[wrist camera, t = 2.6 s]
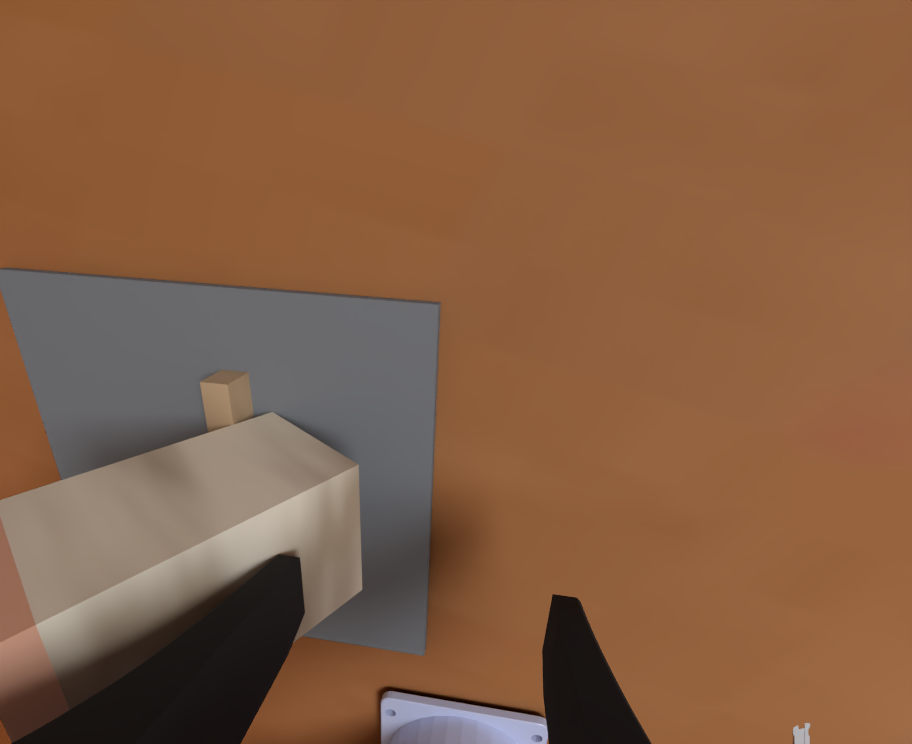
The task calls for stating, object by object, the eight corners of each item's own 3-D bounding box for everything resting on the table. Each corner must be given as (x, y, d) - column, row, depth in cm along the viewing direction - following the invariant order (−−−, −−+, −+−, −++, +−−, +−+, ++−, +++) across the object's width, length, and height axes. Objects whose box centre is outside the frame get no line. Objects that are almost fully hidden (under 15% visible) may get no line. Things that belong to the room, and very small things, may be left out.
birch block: (362, 589, 15) (53, 826, 9) (284, 521, 18) (12, 666, 12) (358, 464, 13) (-31, 657, 7) (272, 412, 16) (-54, 517, 10)
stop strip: (270, 548, 18) (254, 569, 17) (247, 544, 18) (230, 566, 17) (248, 372, 15) (227, 384, 14) (222, 369, 16) (199, 381, 14)
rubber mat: (425, 647, 20) (424, 655, 19) (108, 596, 21) (100, 603, 21) (440, 302, 14) (438, 304, 14) (6, 267, 16) (-6, 268, 15)
